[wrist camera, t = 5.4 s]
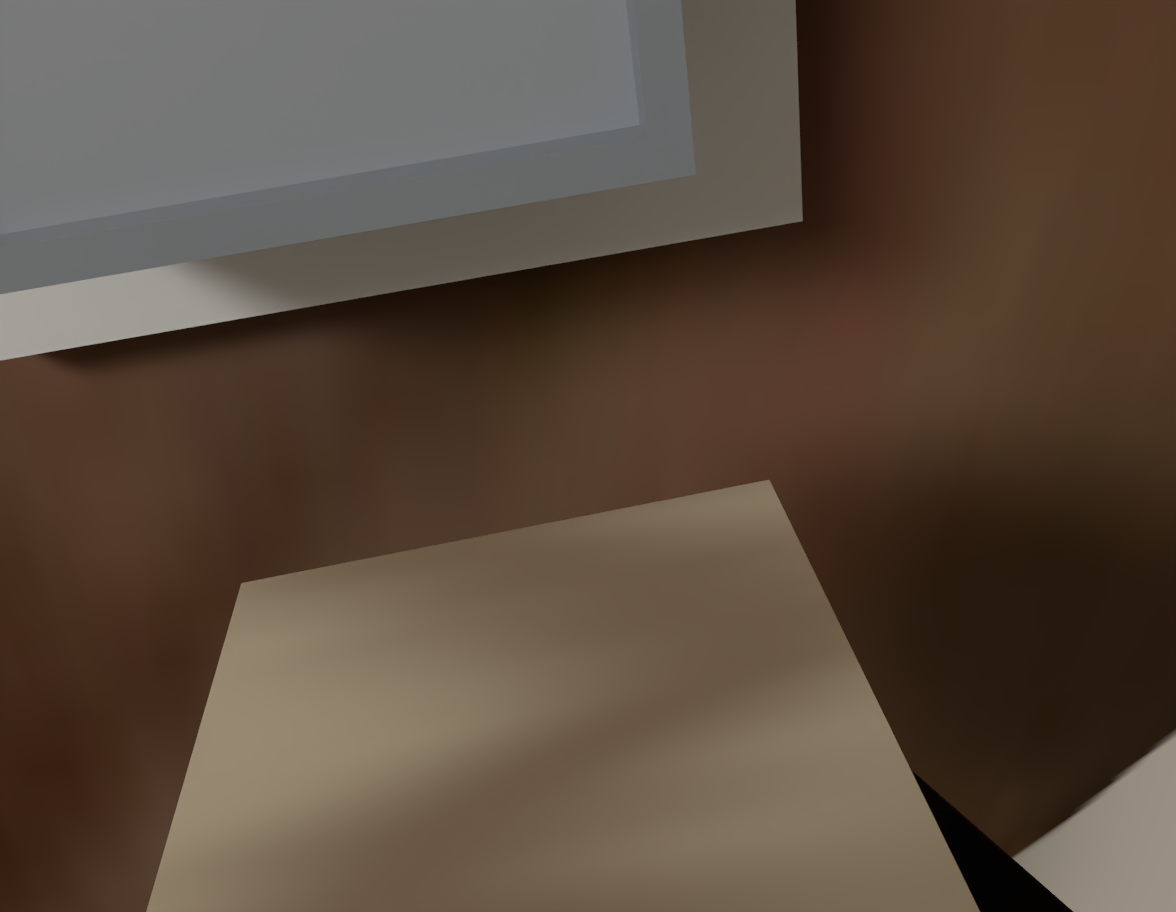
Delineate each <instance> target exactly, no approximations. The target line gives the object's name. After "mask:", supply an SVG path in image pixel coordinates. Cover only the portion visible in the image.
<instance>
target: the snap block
mask: <svg viewBox="0 0 1176 912" xmlns="http://www.w3.org/2000/svg"><path fill="white" fill-rule="evenodd" d="M146 912H980V911H979V909H978V906H977V904H976V902H975V900H974V898H973V896H972V894H971V892H970V890H969V888H968V886H967V884H966V882H965V880H964V878H963V876H962V874H961V872H960V870H959V868H958V866H957V863H956V861H955V859H954V857H953V855H952V853H951V851H950V849H949V847H948V845H947V843H946V841H945V839H944V837H943V835H942V833H941V831H940V829H939V827H938V825H937V822H936V820H935V818H934V816H933V814H932V812H931V810H930V808H929V806H928V804H927V802H926V800H925V798H924V796H923V794H922V792H921V790H920V788H919V786H918V784H917V781H916V779H915V777H914V775H913V773H912V771H911V769H910V767H909V765H908V763H907V761H906V759H905V757H904V755H903V753H902V751H901V749H900V747H899V745H898V743H897V740H896V738H895V736H894V734H893V732H892V730H891V728H890V726H889V724H888V722H887V720H886V718H885V716H884V714H883V712H882V710H881V708H880V706H879V704H878V702H877V700H876V697H875V695H874V693H873V691H872V689H871V687H870V685H869V683H868V681H867V679H866V677H865V675H864V673H863V671H862V669H861V667H860V665H859V663H858V661H857V659H856V656H855V654H854V652H853V650H852V648H851V646H850V644H849V642H848V640H847V638H846V636H845V634H844V632H843V630H842V628H841V626H840V624H839V622H838V620H837V618H836V615H835V613H834V611H833V609H832V607H831V605H830V603H829V601H828V599H827V597H826V595H825V593H824V591H823V589H822V587H821V585H820V583H819V581H818V579H817V577H816V574H815V572H814V570H813V568H812V566H811V564H810V562H809V560H808V558H807V556H806V554H805V552H804V550H803V548H802V546H801V544H800V542H799V540H798V538H797V536H796V534H795V531H794V529H793V527H792V525H791V523H790V521H789V519H788V517H787V515H786V513H785V511H784V509H783V507H782V505H781V503H780V501H779V499H778V497H777V495H776V493H775V490H774V488H773V486H772V484H771V482H770V480H765V481H760V482H755V483H750V484H745V485H740V486H735V487H730V488H725V489H720V490H714V491H709V492H704V493H699V494H694V495H689V496H684V497H679V498H674V499H669V500H663V501H658V502H653V503H648V504H643V505H638V506H633V507H628V508H623V509H618V510H613V511H607V512H602V513H597V514H592V515H587V516H582V517H577V518H572V519H567V520H562V521H556V522H551V523H546V524H541V525H536V526H531V527H526V528H521V529H516V530H511V531H505V532H500V533H495V534H490V535H485V536H480V537H475V538H470V539H465V540H460V541H455V542H449V543H444V544H439V545H434V546H429V547H424V548H419V549H414V550H409V551H404V552H398V553H393V554H388V555H383V556H378V557H373V558H368V559H363V560H358V561H353V562H348V563H342V564H337V565H332V566H327V567H322V568H317V569H312V570H307V571H302V572H297V573H291V574H286V575H281V576H276V577H271V578H266V579H261V580H256V581H251V582H246V583H241V587H240V590H239V594H238V597H237V600H236V604H235V607H234V611H233V614H232V618H231V621H230V625H229V628H228V632H227V635H226V638H225V642H224V645H223V649H222V652H221V656H220V659H219V663H218V666H217V670H216V673H215V676H214V680H213V683H212V687H211V690H210V694H209V697H208V701H207V704H206V708H205V711H204V714H203V718H202V721H201V725H200V728H199V732H198V735H197V739H196V742H195V746H194V749H193V752H192V756H191V759H190V763H189V766H188V770H187V773H186V777H185V780H184V784H183V787H182V790H181V794H180V797H179V801H178V804H177V808H176V811H175V815H174V818H173V822H172V825H171V828H170V832H169V835H168V839H167V842H166V846H165V849H164V853H163V856H162V860H161V863H160V866H159V870H158V873H157V877H156V880H155V884H154V887H153V891H152V894H151V898H150V901H149V904H148V908H147V911H146Z"/></svg>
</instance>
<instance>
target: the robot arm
mask: <svg viewBox="0 0 1176 912" xmlns="http://www.w3.org/2000/svg"><path fill="white" fill-rule="evenodd" d="M911 771H912V770H911ZM912 773H913V775H914V777H915V779H916V781H917V784H918V786H919V788H920V790H921V792H922V794H923V796H924V798H925V800H926V802H927V804H928V806H929V808H930V810H931V812H932V814H933V816H934V818H935V820H936V822H937V825H938V827H939V829H940V831H941V833H942V835H943V837H944V839H945V841H946V843H947V845H948V847H949V849H950V851H951V853H952V855H953V857H954V859H955V861H956V863H957V866H958V868H959V870H960V872H961V874H962V876H963V878H964V880H965V882H966V884H967V886H968V888H969V890H970V892H971V894H972V896H973V898H974V900H975V902H976V904H977V906H978V909H979V911H980V912H1073V911H1072V910H1071V909H1069V908H1068V907H1067V906H1066V905H1065V904H1064V903H1062V902H1061V901H1060V900H1059V899H1058V898H1057V897H1056V896H1055V895H1053V894H1052V893H1051V892H1050V891H1049V890H1048V889H1047V888H1045V887H1044V886H1043V885H1042V884H1041V883H1040V882H1039V881H1037V880H1036V879H1035V878H1034V877H1033V876H1032V875H1031V874H1029V873H1028V872H1027V871H1026V870H1025V869H1024V868H1023V867H1021V866H1020V865H1019V864H1018V863H1017V862H1016V861H1015V860H1013V859H1012V858H1011V857H1010V856H1009V855H1008V854H1007V853H1005V852H1004V851H1003V850H1002V849H1001V848H1000V847H999V846H997V845H996V844H995V843H994V842H993V841H992V840H991V839H990V838H988V837H987V836H986V835H985V834H984V833H983V832H982V831H980V830H979V829H978V828H977V827H976V826H975V825H974V824H972V823H971V822H970V821H969V820H968V819H967V818H966V817H964V816H963V815H962V814H961V813H960V812H959V811H958V810H956V809H955V808H954V807H953V806H952V805H951V804H950V803H948V802H947V801H946V800H945V799H944V798H943V797H942V796H940V795H939V794H938V793H937V792H936V791H935V790H934V789H932V788H931V787H930V786H929V785H928V784H927V783H926V782H924V781H923V780H922V779H921V778H920V777H919V776H918V775H916V774H915V773H914V772H913V771H912Z"/></svg>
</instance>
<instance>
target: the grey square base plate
mask: <svg viewBox="0 0 1176 912" xmlns="http://www.w3.org/2000/svg"><path fill="white" fill-rule="evenodd" d="M801 221H803V215H802V184H801V153H800V122H799V91H798V60H797V30H796V0H0V360H6V359H12V358H17V357H23V356H29V355H35V354H41V353H46V352H52V351H58V350H64V349H69V348H75V347H81V346H87V345H92V344H98V343H104V342H110V341H115V340H121V339H127V338H133V337H138V336H144V335H150V334H156V333H161V332H167V331H173V330H179V329H184V328H190V327H196V326H202V325H207V324H213V323H219V322H225V321H231V320H236V319H242V318H248V317H254V316H259V315H265V314H271V313H277V312H282V311H288V310H294V309H300V308H305V307H311V306H317V305H323V304H328V303H334V302H340V301H346V300H351V299H357V298H363V297H369V296H374V295H380V294H386V293H392V292H398V291H403V290H409V289H415V288H421V287H426V286H432V285H438V284H444V283H449V282H455V281H461V280H467V279H472V278H478V277H484V276H490V275H495V274H501V273H507V272H513V271H518V270H524V269H530V268H536V267H541V266H547V265H553V264H559V263H564V262H570V261H576V260H582V259H588V258H593V257H599V256H605V255H611V254H616V253H622V252H628V251H634V250H639V249H645V248H651V247H657V246H662V245H668V244H674V243H680V242H685V241H691V240H697V239H703V238H708V237H714V236H720V235H726V234H731V233H737V232H743V231H749V230H754V229H760V228H766V227H772V226H778V225H783V224H789V223H795V222H801Z"/></svg>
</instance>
